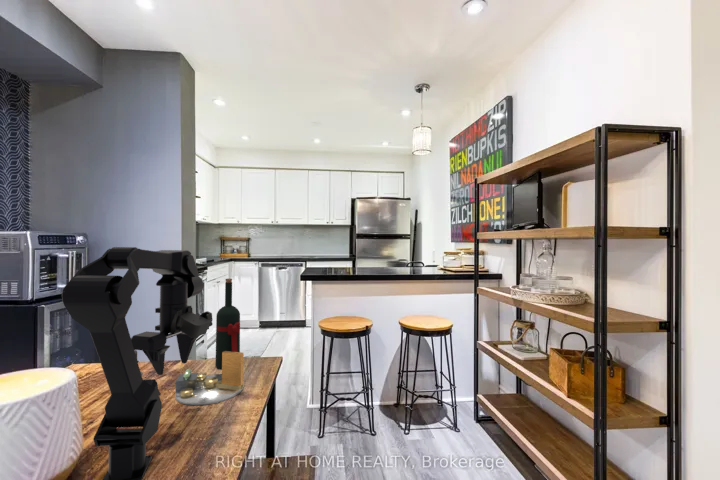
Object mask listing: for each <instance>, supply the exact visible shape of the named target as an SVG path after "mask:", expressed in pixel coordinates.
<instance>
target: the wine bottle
mask: <svg viewBox="0 0 720 480" xmlns="http://www.w3.org/2000/svg"><path fill="white" fill-rule="evenodd" d="M224 285H225V286H224V287H225V289H224V291H225V293H224V295H225V296H224V306H222V307H221V308H219V310H217V313H216V318H215V319H216V322H215V323H216V324H215V329H216V330H215V365H214V366H215V368H216V369H218V370H222V352H224V351H231V352H241V350H240V349H241V348H240V347H241V341H240V340H241V313H240V310H239V308H237V307H236V306H234V305H233V278H225V284H224Z"/></svg>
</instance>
